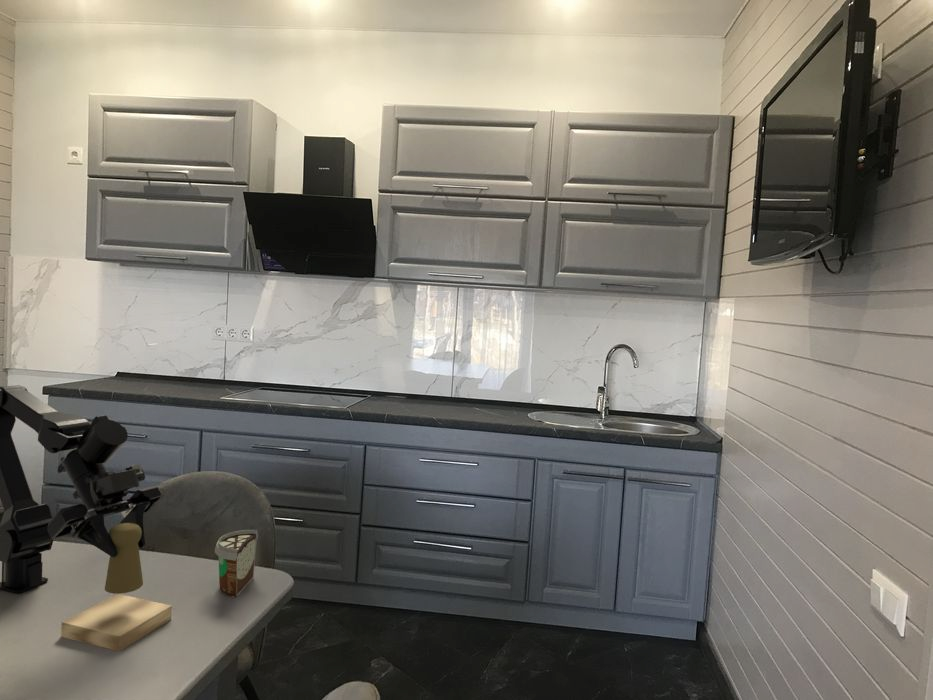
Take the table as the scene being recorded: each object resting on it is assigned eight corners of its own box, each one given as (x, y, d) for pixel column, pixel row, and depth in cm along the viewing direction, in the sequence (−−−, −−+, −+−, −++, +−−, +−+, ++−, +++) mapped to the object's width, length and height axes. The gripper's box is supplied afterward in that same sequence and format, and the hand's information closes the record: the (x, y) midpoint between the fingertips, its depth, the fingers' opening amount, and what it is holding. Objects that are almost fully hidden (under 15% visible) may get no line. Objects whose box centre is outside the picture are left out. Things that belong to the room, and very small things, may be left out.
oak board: (61, 636, 110) (61, 622, 110) (117, 606, 121) (117, 593, 121) (119, 651, 107) (119, 636, 107) (171, 619, 118) (171, 605, 118)
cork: (113, 597, 111) (114, 534, 110) (98, 585, 114) (99, 524, 114) (149, 586, 115) (150, 525, 114) (134, 575, 119) (135, 516, 118)
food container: (227, 572, 140) (229, 527, 139) (256, 574, 139) (258, 529, 139) (202, 597, 127) (204, 547, 127) (233, 600, 127) (235, 550, 126)
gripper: (60, 461, 107) (102, 542, 102) (158, 443, 123) (197, 512, 119) (29, 499, 110) (68, 578, 106) (128, 477, 127) (165, 544, 123)
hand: (129, 551), depth 114 cm, fingers closed on cork, 5 cm apart
